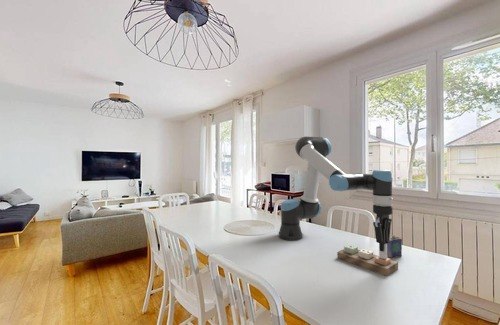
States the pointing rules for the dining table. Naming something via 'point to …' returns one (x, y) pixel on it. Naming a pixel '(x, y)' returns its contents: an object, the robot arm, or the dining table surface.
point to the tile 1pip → (350, 249)
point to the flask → (394, 247)
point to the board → (368, 263)
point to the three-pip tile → (383, 261)
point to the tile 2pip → (366, 254)
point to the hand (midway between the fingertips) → (383, 257)
